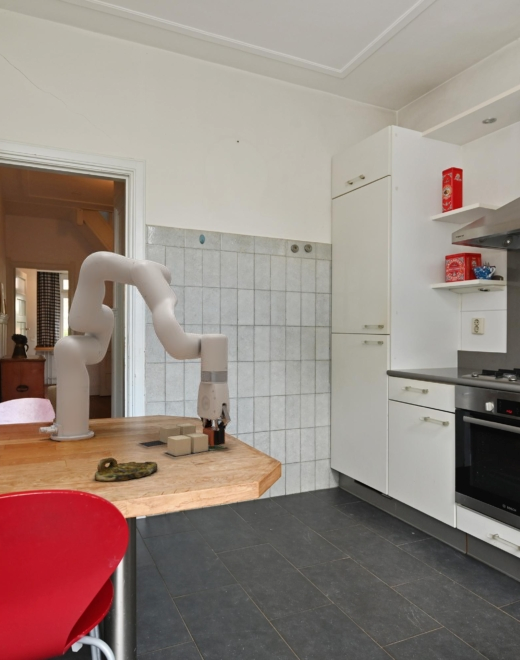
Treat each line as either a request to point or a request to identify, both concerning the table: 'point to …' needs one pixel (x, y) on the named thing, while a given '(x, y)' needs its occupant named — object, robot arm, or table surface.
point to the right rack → (189, 445)
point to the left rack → (171, 433)
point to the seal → (122, 470)
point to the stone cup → (53, 398)
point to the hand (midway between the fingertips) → (213, 442)
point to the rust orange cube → (210, 435)
